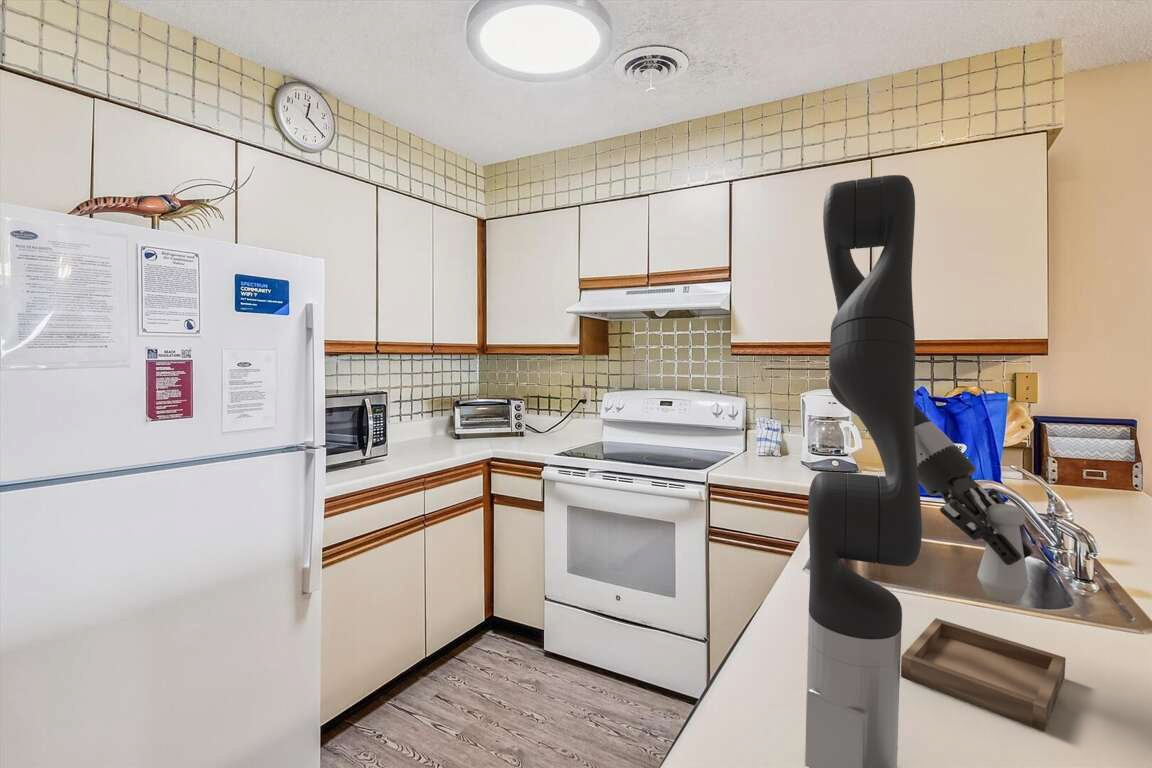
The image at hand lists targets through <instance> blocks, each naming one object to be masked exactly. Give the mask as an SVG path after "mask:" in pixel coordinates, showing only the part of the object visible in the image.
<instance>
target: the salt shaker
mask: <svg viewBox="0 0 1152 768" xmlns="http://www.w3.org/2000/svg"><path fill="white" fill-rule="evenodd" d="M988 511H989V514H990V520H991V521H993V523H994V524H995V525H996V527H997V528H998V529H999V531H1000V534H1002V535H1003V536H1004V537H1006V538H1007V540H1008V541H1009V542H1010V543H1011V544H1012V545H1013V546H1014V547H1015V549H1016V550H1017V551H1018V552H1019V553H1020V554H1021V556H1022V559H1021V560H1019V561H1017V562H1015V563H1013V564H1011V565H1007V564H1005V563H1004V562H1003V560H1002V559H1001V558H1000V556H999V555H997V553H996V552H995V551H994V550H993V549H992V548H991V547H990V545H989V544H988V543H987V542H986V545H985V548H984V551H983V555H982V557H981V558H982V559H981V561H980V564H979V567H978V570H977V571H978V572H977V579H978V581H979V582H980V585H981V588H982V590H983V592H984V595H986V596H988V597H990V598H992V599H994V600H997V601H1002V602H1010V603H1015V602H1018V601H1020V600H1021V599H1022V598H1023V596H1024V595H1025V593H1026V592H1027V589H1028V588H1029V577H1028V571H1027V566H1026V558H1025V557H1024V551H1023V545H1022V539H1023V538H1022V534H1021V528H1020V526H1023V525H1024V524H1025V522H1026V513H1025V510H1023V509H1022V508H1021V507H1019V506H1016V505H1012V504H1008V503H1005V504H992V505H991V506H989V507H988ZM1000 534H999V535H1000ZM1021 538H1022V539H1021Z"/></svg>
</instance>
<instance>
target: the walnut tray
mask: <svg viewBox="0 0 1152 768" xmlns="http://www.w3.org/2000/svg"><path fill="white" fill-rule="evenodd" d="M1065 674H1066V657H1065V656H1062V655H1060V654H1059V655H1058V654H1055V653H1052V652H1049V651H1045V650H1042V649H1039V648H1036V647H1032V646H1029V645H1026V644H1022V643H1020V642H1016V641H1013V640H1010V639H1006V638H1003V637H999V636H996V635H993V634H989V633H986V632H983V631H980V630H976V629H973V628H970V627H966V626H964V625H963V626H962V625H960V624H956V623H953V622H949V621H947V620H943V619H940V618H937V617H936V618H934V620H933V621H932V622H931V623H930V624H929V625H928V626H927V627H926V628H925V630H923V632H922V633H921V634H920V635H919V636H918V637H917V638H916V639H915V640H914V641H913V642H912V644H910V646H909V647H908V648H907V649H906V650H905V651H904V652H903V654H901V656H900V678H901V677H902V678H904V679H907V680H910V681H912V682H915V683H917V684H921V685H923V686H925V687H928V688H931V689H933V690H935V691H938V692H941V693H944V694H946V695H948V696H952V697H954V698H956V699H959V700H962V701H965V702H967V703H969V704H972V705H974V706H977V707H980V708H982V709H985V710H987V711H990V712H993V713H995V714H998V715H1001V716H1003V717H1006V718H1008V719H1011V720H1014V721H1016V722H1018V723H1022V724H1024V725H1027V726H1030V727H1032V728H1035V729H1037V730H1039V731H1042V732H1046V730H1047V729H1046V728H1047V726H1048V723H1049V721H1050V719H1051V715H1052V713H1053V710H1054V707H1055V705H1056V702H1057V699H1058V696H1059V694H1060V691H1061V688H1062V685H1063V683H1064V681H1065Z"/></svg>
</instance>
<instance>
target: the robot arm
mask: <svg viewBox="0 0 1152 768" xmlns="http://www.w3.org/2000/svg"><path fill="white" fill-rule="evenodd" d="M915 196H916V195H915V190H914V185H913V183H912V181H911V180H910V178H909V177H907V176H905V175H902V174H890V175H883V176H875V177H874V176H873V177H867V178H865V177H864V178H861V179H852V180H846V181H840V182H835V183H833V184H831V185H830V186H829V187H828V189H827V191H826V193H825V196H824V201H823V209H822V211H823V214H822V220H823V222H822V223H823V224H822V225H823V226H822V227H823V235H824V242H825V250H826V254H827V261H828V266H829V267H828V268H829V273H830V278H831V282H832V287H833V292H834V295H835V303H836V308H837V312H836V315H835V316H834V318H833V320H832V323H831V327H830V339H829V340H830V341H829V359H828V361H829V364H828V365H829V366H828V367H829V374H830V376H829V378H828V386H829V389H830V393H831V394H832V396H833V397H834V398H835V399H836V401H838V403H840V404H841V405H842V406H844V407H845V408H846V409H847V410H849V411H850V412H852V413H853V414H855V415H856V416H857V417H858V418H859V420H860V421H861V422H862V424H863V426H864V427H865V429H866V430H867V432H868V434H869V435H870V437H871V439H872V440H873V442H874V444H875V447H876V449H877V451H878V454H879V457H880V459H881V463H882V465H883V469H884V475H885V476H884V475H879V476H878V475H875V474H874V475H872V474H860V473H851V472H850V473H849V472H848V473H847V472H846V473H845V472H835V471H822V472H819V473H817V474H816V475H815V476H814V477H813V480H812V481H811V484H810V488H809V492H808V501H807V510H808V511H807V516H808V517H807V520H808V521H807V522H808V539H809V541H808V543H809V544H808V545H809V593H808V594H809V595H808V618H807V619H808V623H807V624H808V627H807V663H806V664H807V666H806V667H807V668H806V669H807V670H806V672H807V673H806V701H805V704H806V706H805V745H804V747H805V753H804V754H805V755H804V756H805V758H804V767H805V766H807V767H809V768H898V751H899V750H898V749H899V748H898V747H899V745H898V743H899V735H898V734H899V715H900V714H899V712H900V711H899V710H900V686H901V685H900V681H901V680H900V679H901V656H902V627H903V609H902V605H901V602H900V600H899V599H898V597H897V596H895V594H893V592H891V591H890V590H888V589H887V588H886V587H884V586H883V585H880V584H878V583H876V582H874V581H872V580H870V579H868V578H866V577H864V576H862V575H861V574H859V573H858V572H856V571H854V570H853V569H852V568H850V567H849V566H848V565H847V564H846V563H845V562H844V561H843V560H848V561H849V560H850V561H857V562H864V563H871V564H876V563H877V565H884V566H892V567H906V568H907V567H910V566H912V565H914V564H915V562H916V561H917V559H918V558H919V555H920V552H921V549H922V548H921V547H922V537H923V520H922V519H923V518H922V503H921V494H920V493H921V491H920V486H921V487H922V488H923V490H924V491H925V492H926V493H927V494H928V495H929V496H933V497H936V496H939V495H940V496H941V497H942V500H943V501H944V502H945V504H944V505H943V506H941V507H940V508H939V512H941V514H942V515H944V516H945V518H947V519H948V520H949V521H950V522H951V523H952V524H954V525H955V526H957V527H958V528H959V529H960V530H961V531H962V532H963V533H965V534H966V535H967V536H968V537H969V538H971V539H972V540H973V541H977V540H980V541H982V542H983V543H986V544H987V543H988V544H989V545H990V547H991V548H992V549H993V550H994V551H995V552H996V553H997V555H999V556H1000V558H1001V559H1002V560H1003V562H1004V563H1005V564H1007V565H1011V564H1013V563H1015V562H1017V561H1019V560H1021V559H1022V556H1021V554H1020V553H1019V552H1018V551H1017V550H1016V549H1015V547H1014V546H1013V545H1012V544H1011V543H1010V542H1009V541H1008V540H1007V538H1006V537H1004V536H1003V535H1002V534H1000V531H999V529H998V528H997V527H996V525H995V524H994V523H993V521H991V520H990V514H989V511H988V507H989V506H991V505H992V504H1006V503H1005V501H1004V499H1003V498H1002V496H1001V495H1000V493H999V492H998V490H996V489H995V488H991V489H990V490H985V488H983V487H982V486H981V485H980V484H979V483H977V482H976V481H975V480H974V479H973V477H972V476H973V475H974V474H975V472H976V470H977V468H976V466H975V465H974V463H972V462H971V460H969V458H968V457H967V456H966V454H964V453H963V452H962V451H961V449H959V447H958V446H957V445H956V444H955V443H954V442H953V441H952V440H951V439H950V438H949V436H947V435H946V433H945V432H944V431H943V430H941V429H940V427H938V426H937V425H935V423H933V422H932V421H931V420H930V419H929V418H928V417H927V415H926V414H924V412H923V411H922V410H921V409H920V408H919V407H918V406H917V405H916V404H915V381H916V380H915V378H916V331H915V319H914V317H915V316H914V305H913V303H914V302H913V284H912V283H913V280H912V279H913V278H912V277H913V275H912V274H913V256H914V255H913V253H914V238H915V237H914V236H915V220H916V219H915V217H916V197H915ZM879 247H880V248H881V247H883V249H882V251H881V253H880V255H879V257H878V259H877V261H876V263H875V265H874V266H873V267H872V269H871V271H870V272H869V274H868V275H867V276H866V277H865V276H864V275H863V273H862V272H861V271H860V269H858V267H857V265H856V263H855V261H854V259H853V258H854V257H853V255H852V251H851V250H857V249H868V248H869V249H870V248H879ZM999 534H1000V535H999ZM1021 539H1022V545H1023V551H1024V557H1025V559H1026V558H1029V557H1030V556H1032V555H1033V554H1034V551H1033V549H1032V548H1031V546H1029V545H1028V544H1027V543H1026V541H1025V540H1024V539H1023V538H1022V537H1021Z"/></svg>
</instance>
